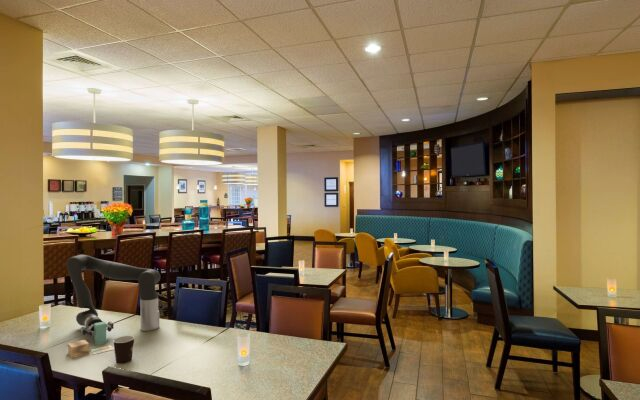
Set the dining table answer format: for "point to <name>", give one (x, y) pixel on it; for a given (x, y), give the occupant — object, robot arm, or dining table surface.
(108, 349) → the page
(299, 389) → the dining table surface
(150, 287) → the robot arm
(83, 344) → the base brick
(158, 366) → the dining table surface
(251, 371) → the dining table surface
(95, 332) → the tall block
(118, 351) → the coffee mug
